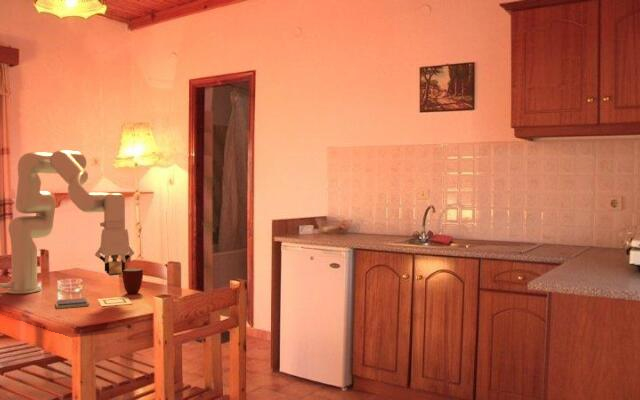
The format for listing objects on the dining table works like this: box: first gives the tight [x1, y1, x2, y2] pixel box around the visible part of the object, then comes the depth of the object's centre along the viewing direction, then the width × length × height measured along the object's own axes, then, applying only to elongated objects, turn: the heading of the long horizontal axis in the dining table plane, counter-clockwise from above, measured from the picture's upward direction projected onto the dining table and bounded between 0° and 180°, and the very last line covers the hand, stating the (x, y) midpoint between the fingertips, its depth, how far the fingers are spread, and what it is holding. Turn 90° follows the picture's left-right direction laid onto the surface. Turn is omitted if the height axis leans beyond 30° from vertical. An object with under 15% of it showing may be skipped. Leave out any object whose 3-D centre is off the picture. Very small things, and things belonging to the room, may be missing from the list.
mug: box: [121, 267, 144, 295], centre depth 235 cm, size 10×8×10 cm
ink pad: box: [54, 297, 90, 310], centre depth 211 cm, size 11×9×2 cm
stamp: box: [108, 255, 122, 277], centre depth 217 cm, size 4×4×9 cm
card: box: [97, 296, 133, 308], centre depth 217 cm, size 11×14×1 cm
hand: (114, 272), depth 217 cm, fingers closed on stamp, 4 cm apart
